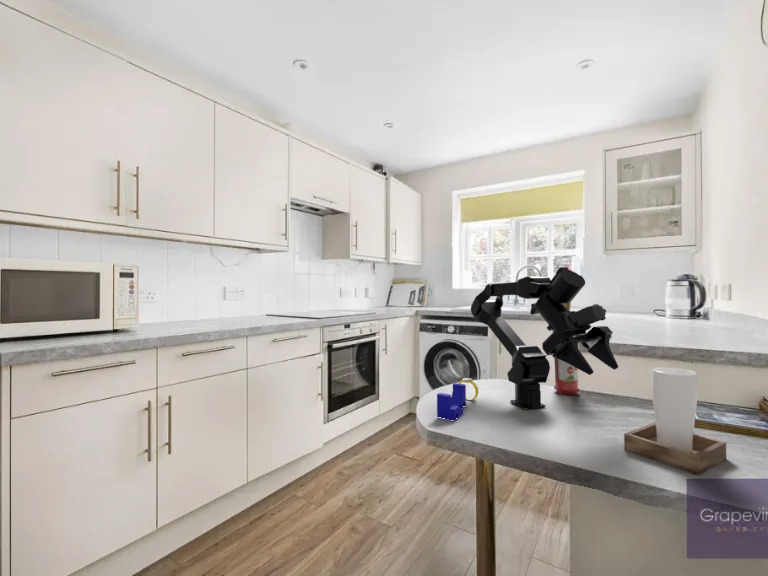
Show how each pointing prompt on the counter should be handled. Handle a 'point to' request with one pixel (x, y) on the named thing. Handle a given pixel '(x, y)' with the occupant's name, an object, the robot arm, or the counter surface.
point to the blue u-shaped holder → (452, 402)
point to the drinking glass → (674, 406)
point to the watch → (469, 380)
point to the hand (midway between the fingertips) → (604, 371)
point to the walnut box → (676, 450)
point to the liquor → (566, 374)
